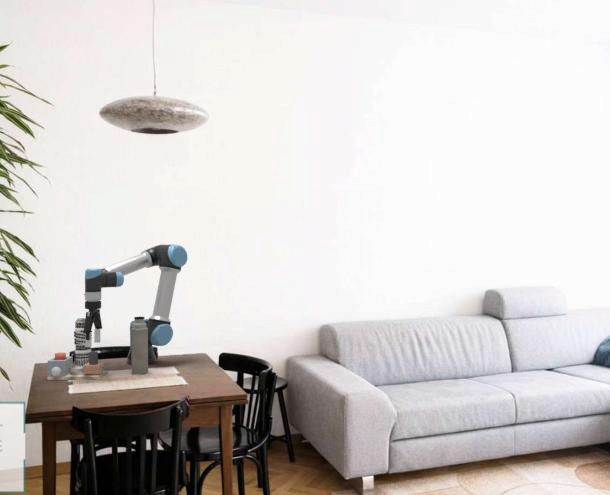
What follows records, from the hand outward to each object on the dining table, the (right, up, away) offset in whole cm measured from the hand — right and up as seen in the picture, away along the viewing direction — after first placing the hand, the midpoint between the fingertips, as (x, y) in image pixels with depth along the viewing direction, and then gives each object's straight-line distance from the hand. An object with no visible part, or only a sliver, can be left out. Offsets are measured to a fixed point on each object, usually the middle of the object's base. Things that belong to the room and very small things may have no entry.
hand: (92, 344), depth 314 cm
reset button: (-16, -8, 0) cm, 17 cm away
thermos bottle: (+20, -16, +10) cm, 27 cm away
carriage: (0, -14, 0) cm, 14 cm away
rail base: (-7, -16, 0) cm, 17 cm away
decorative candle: (-14, -16, +27) cm, 34 cm away
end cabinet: (-16, -16, 0) cm, 22 cm away
